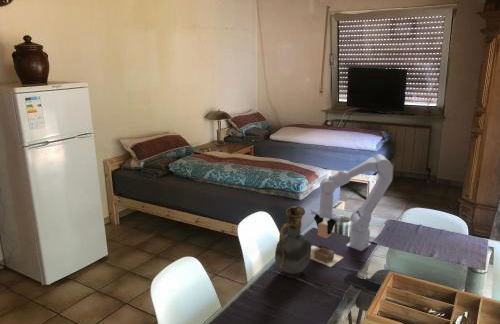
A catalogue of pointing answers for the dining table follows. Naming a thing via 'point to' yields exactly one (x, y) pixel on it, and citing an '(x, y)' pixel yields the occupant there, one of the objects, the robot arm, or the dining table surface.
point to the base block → (324, 255)
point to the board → (330, 263)
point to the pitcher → (293, 245)
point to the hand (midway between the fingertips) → (324, 232)
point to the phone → (363, 283)
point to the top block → (323, 229)
